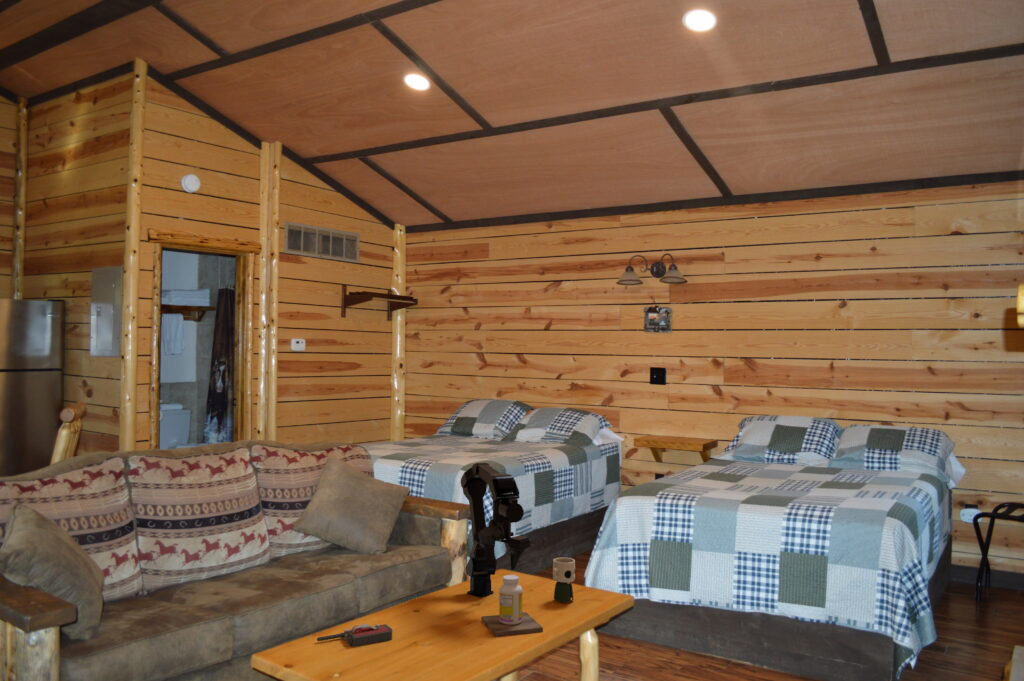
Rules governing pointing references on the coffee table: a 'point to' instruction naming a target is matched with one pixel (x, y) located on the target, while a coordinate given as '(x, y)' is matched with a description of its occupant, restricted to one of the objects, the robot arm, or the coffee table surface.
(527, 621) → the walnut board
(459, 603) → the coffee table surface
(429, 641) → the coffee table surface
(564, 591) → the character mug
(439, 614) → the coffee table surface
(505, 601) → the supplement bottle
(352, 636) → the walkie-talkie
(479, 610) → the coffee table surface
